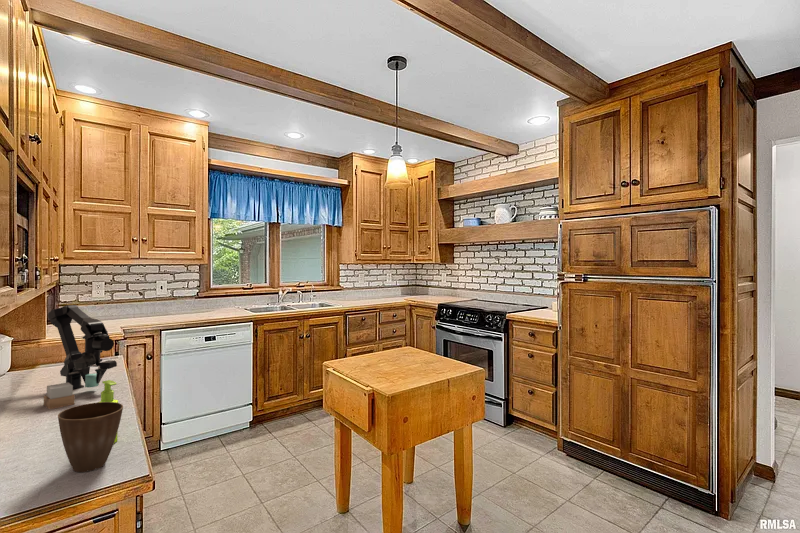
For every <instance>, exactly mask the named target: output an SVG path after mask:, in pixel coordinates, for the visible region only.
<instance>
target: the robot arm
mask: <svg viewBox="0 0 800 533" xmlns="http://www.w3.org/2000/svg"><path fill="white" fill-rule="evenodd" d="M47 317H48V319H49V321H50V323H51V325H53V327H55V328H56V329H57V330H58V331H57V332H58V334H59V337H60V341H61V343H62V347H63V349H64V353H65V358H64V361H63V366H62V368H61V369H60V371H59V373H60V376H61V377H65V383H67V382H68V383H70V384H71V385H73V390H74V389H79V388H84V387H85V375H88V374H90V370H91V367H92V368H93V367H95V368H96V367H97V368H96V369H94V371H95V373H97V376H96V382H97V384H98V383H99V384H100V383H101V380H102V379H103V376H104V374H105V373H106V372H107V370H111V369H113V368H116V367H117V366H118V365H117V364H118V362H117V361H116V359H115V360H114V359H113V360H111V359H110V360H105V361H103V358H101V354H102V353H103V352H109V351H111V350H112V349H113V348H114V345H115V342H114V340H113V339H112V338H111V337H110V335H109V332H108V330H107V328H106V326H105V324H104V322H103V321H101V320H99V319H96V318H93V317H90V315H88V314H87V313H86V312H84V311H83V310H82V309H81V308H79V305H76V304H69V305H67V304H66V305H64V306H62V307H58V308H54V309H51V310H50V311H49V312H48V313H47ZM73 320H74V321H75V323H77V324H78V325H79V326H80V331H81V332H82V334H84V336H82V340H84V352H80V350H79V347H78V344H77V341H76V338H75V335H74V332H73V328H72V326H71V323H72V321H73ZM82 380H83V382H84V385H83V384H82Z"/></svg>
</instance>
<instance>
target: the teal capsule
mask: <svg viewBox="0 0 800 533" xmlns="http://www.w3.org/2000/svg"><path fill="white" fill-rule="evenodd" d="M96 376H97V373H96V372H95V373H89V374H88V375H85V383H84V387H85V388H95V387H99V385H100V382H99V383H98V384H97V382H96Z"/></svg>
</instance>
